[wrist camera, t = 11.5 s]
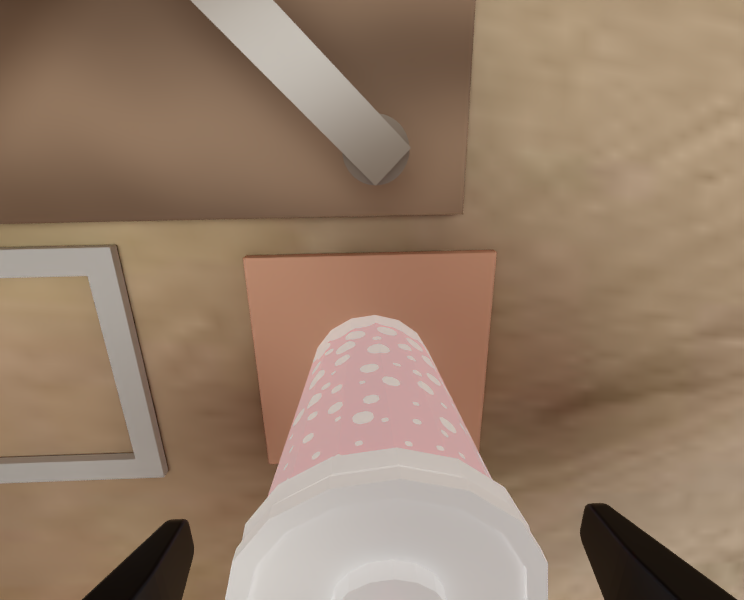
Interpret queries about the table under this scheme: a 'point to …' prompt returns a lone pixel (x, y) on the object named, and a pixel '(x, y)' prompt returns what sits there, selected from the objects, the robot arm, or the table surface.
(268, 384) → the end mat
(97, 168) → the wire board
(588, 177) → the table surface
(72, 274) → the frame
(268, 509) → the beverage cup
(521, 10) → the table surface
